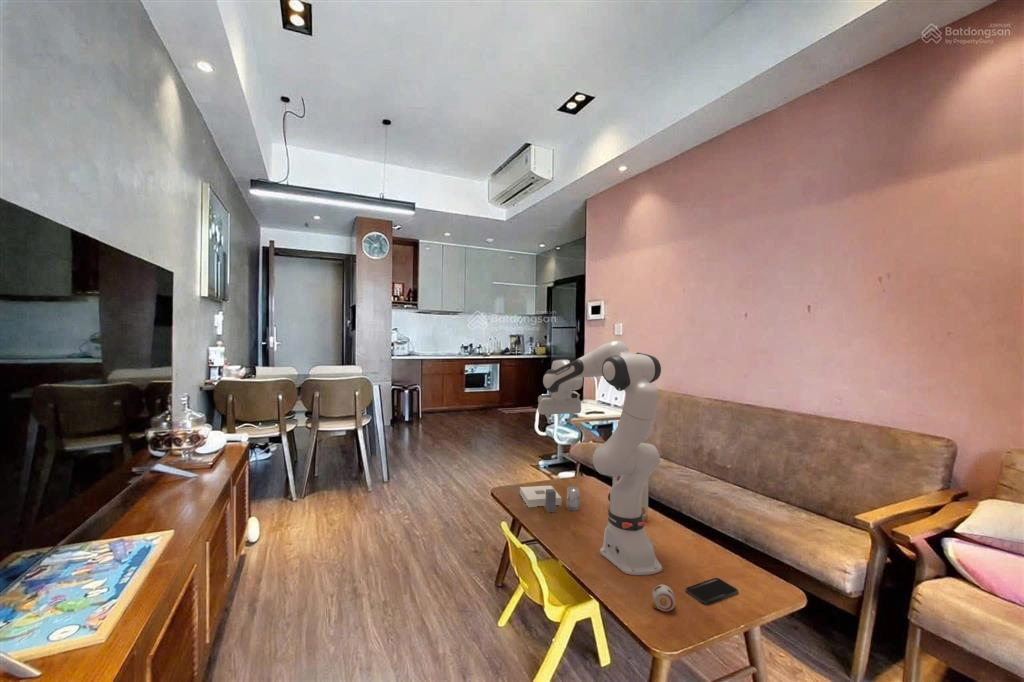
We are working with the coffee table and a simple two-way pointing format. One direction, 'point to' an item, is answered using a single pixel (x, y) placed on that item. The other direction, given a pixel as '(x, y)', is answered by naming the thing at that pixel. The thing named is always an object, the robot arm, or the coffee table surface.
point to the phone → (711, 591)
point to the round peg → (573, 498)
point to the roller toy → (663, 598)
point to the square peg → (550, 500)
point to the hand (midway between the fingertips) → (559, 422)
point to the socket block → (537, 496)
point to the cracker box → (644, 498)
